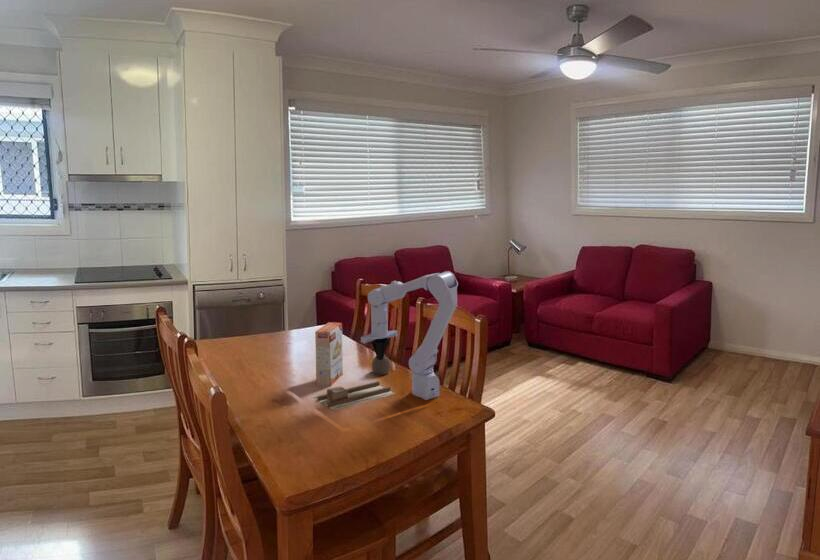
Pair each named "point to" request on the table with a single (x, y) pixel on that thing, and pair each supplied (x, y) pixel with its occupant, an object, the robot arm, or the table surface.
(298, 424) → the table surface
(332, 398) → the block
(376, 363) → the vase
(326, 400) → the birch board
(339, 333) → the cracker box
